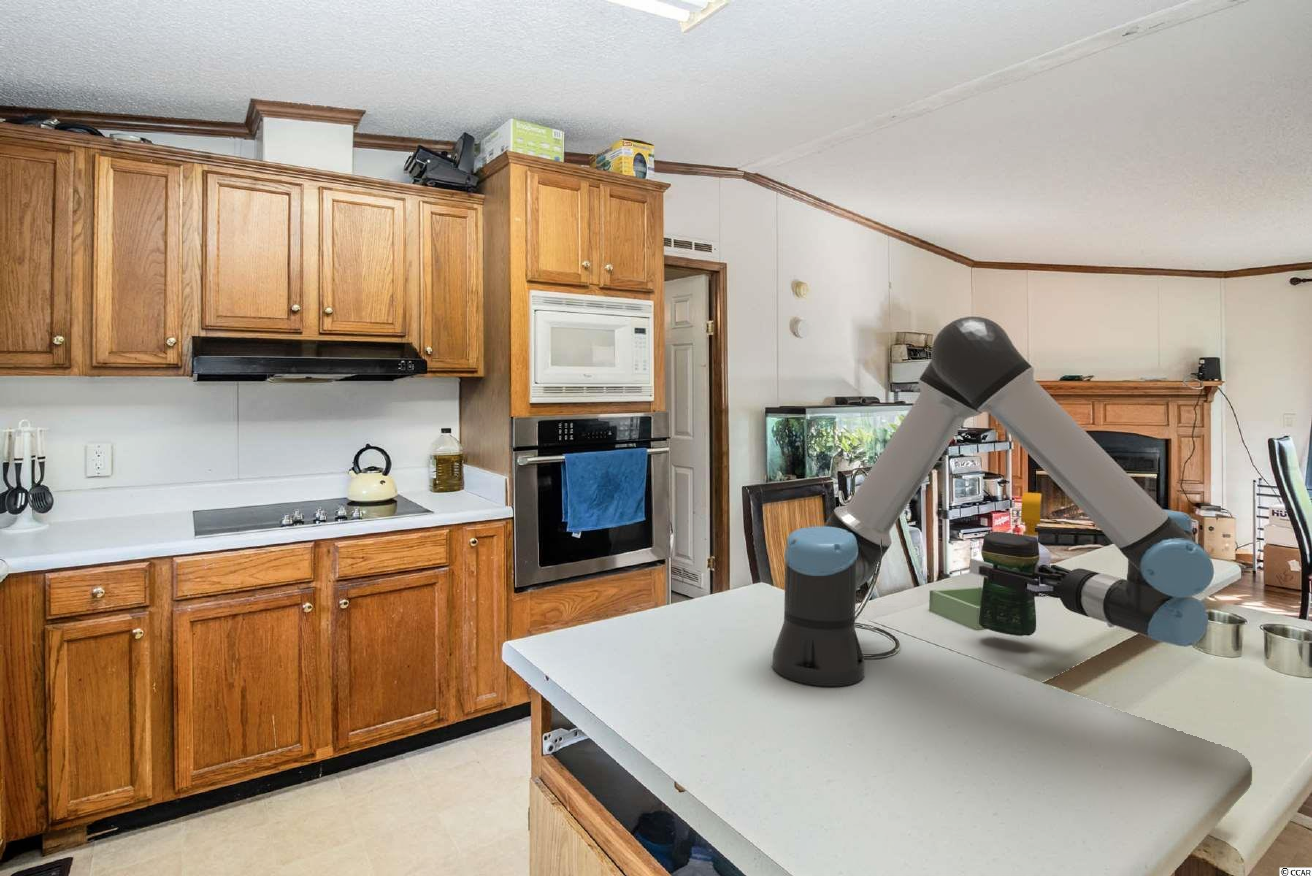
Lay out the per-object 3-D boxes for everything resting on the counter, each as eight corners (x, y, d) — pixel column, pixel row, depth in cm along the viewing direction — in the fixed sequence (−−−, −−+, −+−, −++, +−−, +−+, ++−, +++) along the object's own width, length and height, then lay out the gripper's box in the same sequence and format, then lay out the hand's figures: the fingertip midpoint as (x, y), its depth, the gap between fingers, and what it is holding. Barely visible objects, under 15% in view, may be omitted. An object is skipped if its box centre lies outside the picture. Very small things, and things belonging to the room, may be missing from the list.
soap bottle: (1049, 590, 173) (1053, 493, 172) (1048, 598, 165) (1052, 496, 164) (1009, 585, 177) (1013, 490, 176) (1006, 592, 170) (1010, 493, 169)
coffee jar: (1040, 632, 130) (1046, 535, 130) (1026, 641, 125) (1032, 539, 124) (987, 619, 137) (992, 527, 136) (971, 627, 132) (977, 531, 131)
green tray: (976, 629, 140) (977, 608, 139) (929, 610, 153) (929, 590, 153) (1030, 624, 144) (1031, 603, 144) (979, 606, 157) (980, 586, 157)
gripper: (1044, 622, 110) (944, 585, 132) (1142, 613, 117) (1032, 580, 138) (1047, 576, 110) (946, 547, 131) (1145, 570, 117) (1034, 543, 138)
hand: (990, 564), depth 135 cm, fingers closed on coffee jar, 9 cm apart
